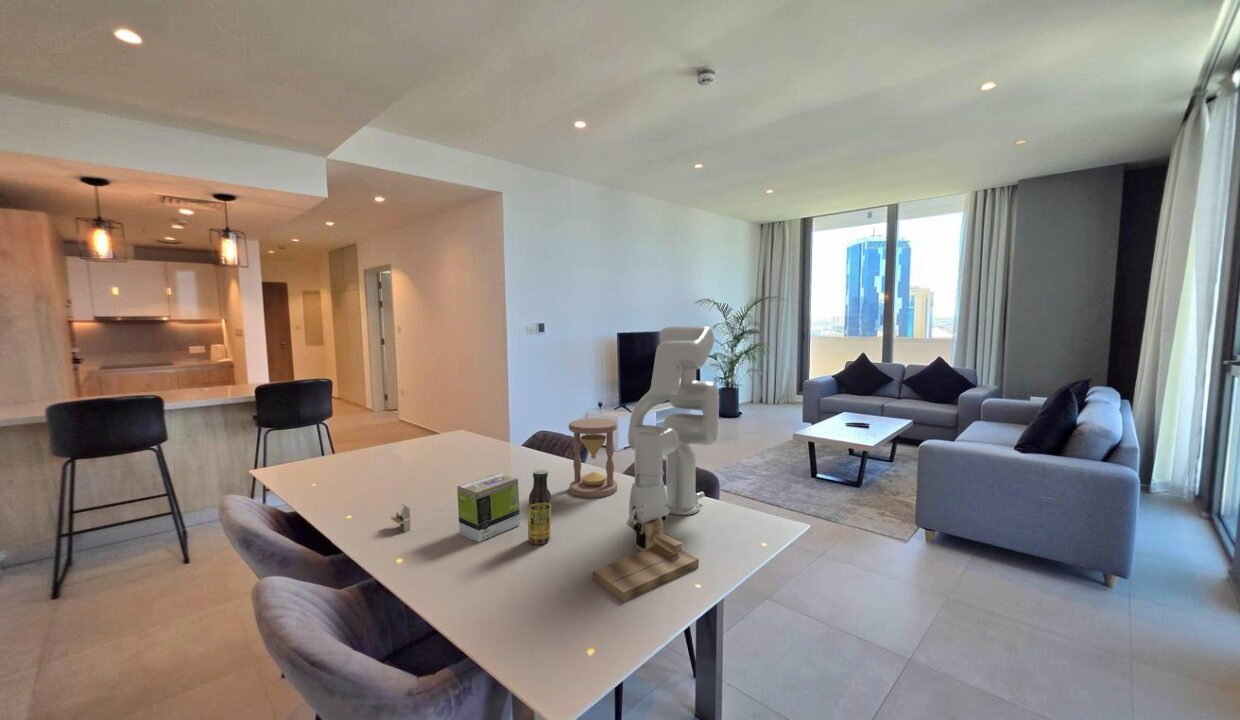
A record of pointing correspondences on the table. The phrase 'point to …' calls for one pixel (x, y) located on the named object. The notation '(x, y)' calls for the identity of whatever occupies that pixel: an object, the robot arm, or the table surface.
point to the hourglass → (593, 482)
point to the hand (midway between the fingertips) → (648, 542)
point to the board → (643, 571)
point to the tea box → (488, 506)
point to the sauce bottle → (539, 509)
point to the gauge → (658, 537)
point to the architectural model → (403, 518)
